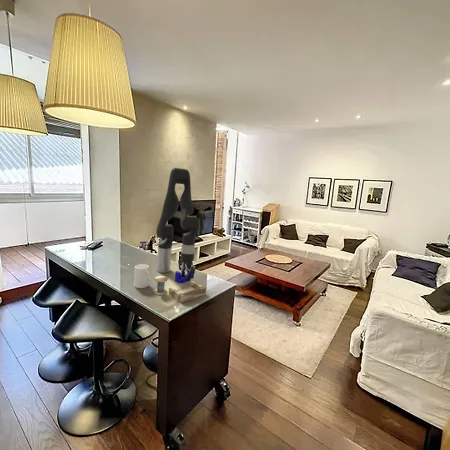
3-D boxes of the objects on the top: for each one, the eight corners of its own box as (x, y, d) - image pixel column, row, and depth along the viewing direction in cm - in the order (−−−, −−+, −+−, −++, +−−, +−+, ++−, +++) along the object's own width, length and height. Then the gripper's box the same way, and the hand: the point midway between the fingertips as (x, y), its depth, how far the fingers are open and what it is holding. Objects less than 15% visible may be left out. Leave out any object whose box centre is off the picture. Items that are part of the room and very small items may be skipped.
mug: (154, 287, 151) (155, 268, 148) (141, 291, 144) (142, 271, 142) (143, 280, 158) (143, 262, 155) (130, 284, 151) (131, 265, 149)
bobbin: (151, 291, 145) (152, 277, 143) (162, 288, 150) (163, 275, 149) (158, 296, 140) (159, 281, 139) (169, 292, 146) (169, 279, 144)
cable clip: (179, 284, 140) (180, 274, 139) (174, 281, 143) (175, 271, 142) (195, 278, 149) (196, 269, 148) (190, 276, 152) (190, 267, 151)
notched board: (168, 294, 143) (168, 288, 143) (192, 286, 157) (193, 280, 156) (181, 303, 136) (181, 296, 135) (205, 294, 149) (206, 287, 148)
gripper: (174, 249, 145) (173, 276, 148) (190, 256, 136) (188, 285, 139) (185, 247, 151) (183, 274, 154) (201, 253, 141) (198, 282, 144)
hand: (185, 279), depth 146 cm, fingers closed on cable clip, 4 cm apart
